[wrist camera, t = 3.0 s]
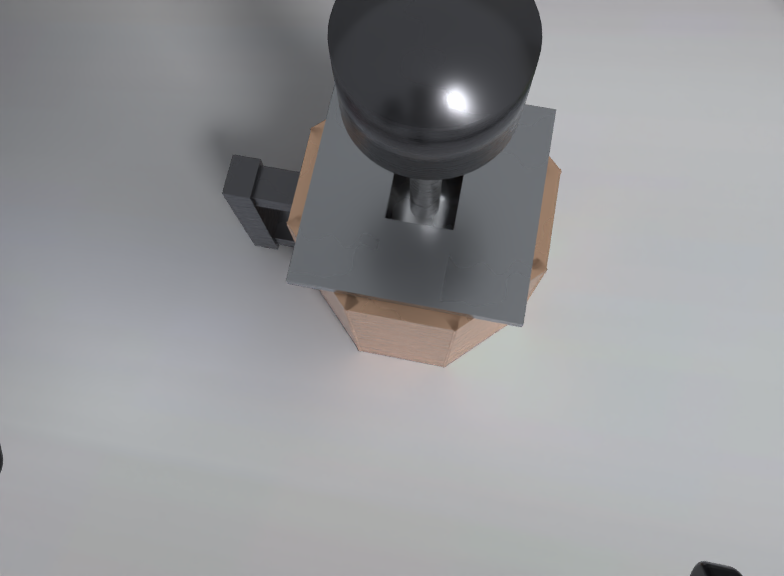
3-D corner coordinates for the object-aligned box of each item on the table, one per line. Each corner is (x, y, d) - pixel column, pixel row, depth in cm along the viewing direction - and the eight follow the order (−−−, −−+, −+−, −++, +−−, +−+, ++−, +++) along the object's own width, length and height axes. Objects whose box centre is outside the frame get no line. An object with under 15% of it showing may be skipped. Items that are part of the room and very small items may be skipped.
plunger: (495, 311, 19) (558, 185, 11) (321, 278, 19) (261, 134, 11) (521, 151, 20) (594, -65, 12) (357, 123, 21) (326, -103, 13)
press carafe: (506, 379, 23) (538, 344, 17) (236, 327, 23) (182, 277, 18) (536, 186, 25) (574, 97, 19) (284, 143, 25) (249, 45, 20)
